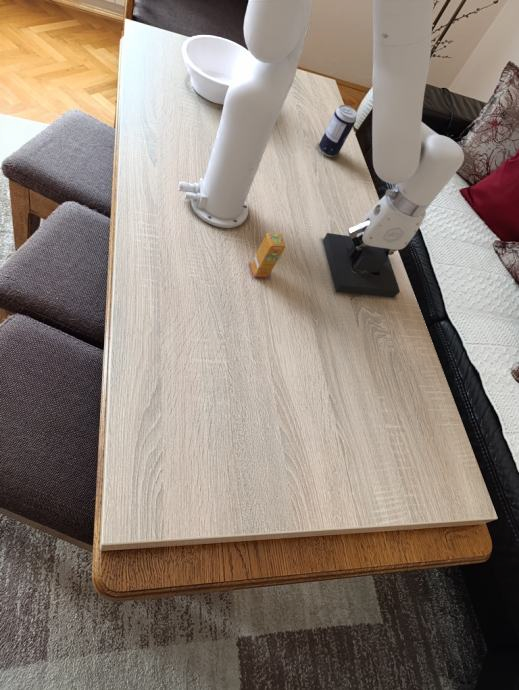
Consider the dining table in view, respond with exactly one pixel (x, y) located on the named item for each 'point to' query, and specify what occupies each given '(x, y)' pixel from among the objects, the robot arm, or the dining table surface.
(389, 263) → the socket pad
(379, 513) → the dining table surface
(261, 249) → the supplement box
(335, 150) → the beverage can
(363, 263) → the black square block
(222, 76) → the bowl
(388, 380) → the dining table surface
